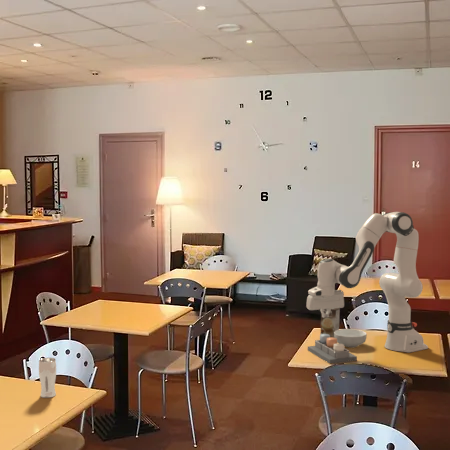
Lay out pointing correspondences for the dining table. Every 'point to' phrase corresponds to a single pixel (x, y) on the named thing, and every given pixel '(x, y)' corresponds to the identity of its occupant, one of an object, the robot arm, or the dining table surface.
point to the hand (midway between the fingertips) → (325, 317)
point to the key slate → (324, 338)
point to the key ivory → (338, 347)
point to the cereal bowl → (350, 337)
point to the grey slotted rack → (331, 353)
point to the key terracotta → (331, 342)
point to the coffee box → (330, 322)
